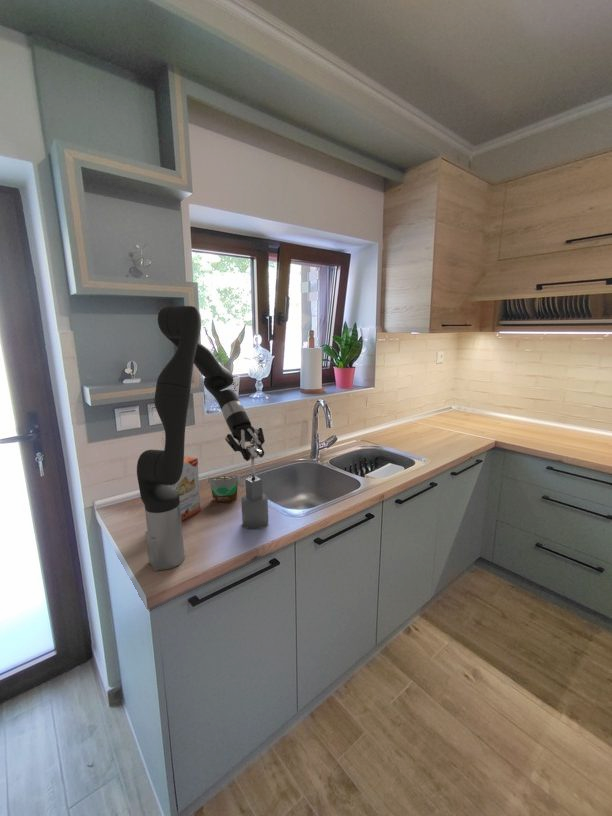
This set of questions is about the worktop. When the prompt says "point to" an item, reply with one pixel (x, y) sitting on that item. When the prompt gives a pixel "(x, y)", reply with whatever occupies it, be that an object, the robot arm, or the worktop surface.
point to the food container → (224, 488)
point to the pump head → (253, 456)
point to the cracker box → (188, 488)
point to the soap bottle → (254, 505)
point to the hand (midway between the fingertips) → (255, 457)
